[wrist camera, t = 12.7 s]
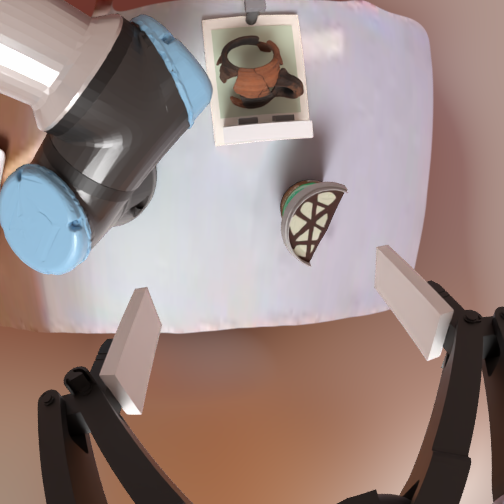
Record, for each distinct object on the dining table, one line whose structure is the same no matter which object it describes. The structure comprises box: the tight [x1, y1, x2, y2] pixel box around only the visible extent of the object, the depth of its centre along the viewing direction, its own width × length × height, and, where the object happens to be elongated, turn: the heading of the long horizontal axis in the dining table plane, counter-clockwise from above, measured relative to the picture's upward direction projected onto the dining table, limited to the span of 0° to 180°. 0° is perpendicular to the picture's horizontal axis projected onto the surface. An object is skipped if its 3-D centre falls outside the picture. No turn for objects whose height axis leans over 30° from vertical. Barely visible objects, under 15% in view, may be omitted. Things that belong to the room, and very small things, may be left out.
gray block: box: [244, 0, 266, 25], centre depth 30 cm, size 2×2×8 cm
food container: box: [280, 180, 348, 267], centre depth 42 cm, size 12×6×10 cm, turn 158°
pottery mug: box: [216, 35, 304, 109], centre depth 35 cm, size 12×9×8 cm
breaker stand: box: [202, 15, 313, 146], centre depth 35 cm, size 14×20×8 cm
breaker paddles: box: [238, 114, 295, 125], centre depth 36 cm, size 7×1×3 cm, turn 96°
